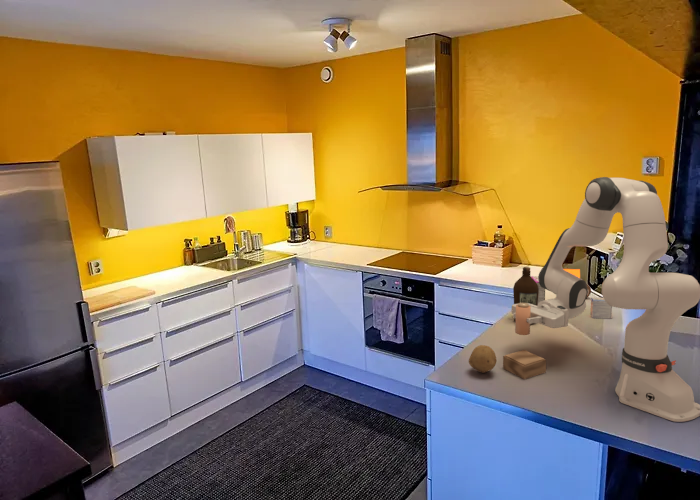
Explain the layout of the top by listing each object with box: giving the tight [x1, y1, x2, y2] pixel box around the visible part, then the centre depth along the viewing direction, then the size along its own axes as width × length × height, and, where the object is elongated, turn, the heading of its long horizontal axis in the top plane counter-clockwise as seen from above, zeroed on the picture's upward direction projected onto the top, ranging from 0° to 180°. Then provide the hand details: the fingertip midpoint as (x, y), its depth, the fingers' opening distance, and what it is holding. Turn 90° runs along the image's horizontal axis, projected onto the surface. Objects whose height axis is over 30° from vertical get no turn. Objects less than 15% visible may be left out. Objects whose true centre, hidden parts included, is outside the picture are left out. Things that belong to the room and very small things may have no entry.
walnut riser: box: [502, 349, 547, 380], centre depth 166 cm, size 10×10×5 cm
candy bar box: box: [530, 275, 546, 305], centre depth 223 cm, size 11×5×16 cm, turn 168°
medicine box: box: [589, 297, 613, 320], centre depth 213 cm, size 8×4×9 cm, turn 74°
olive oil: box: [512, 266, 539, 326], centre depth 210 cm, size 11×11×25 cm
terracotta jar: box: [514, 303, 531, 336], centre depth 170 cm, size 5×5×11 cm
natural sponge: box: [468, 344, 497, 374], centre depth 165 cm, size 9×9×10 cm
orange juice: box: [563, 268, 581, 279], centre depth 224 cm, size 8×9×20 cm
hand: (521, 318), depth 170 cm, fingers closed on terracotta jar, 5 cm apart
